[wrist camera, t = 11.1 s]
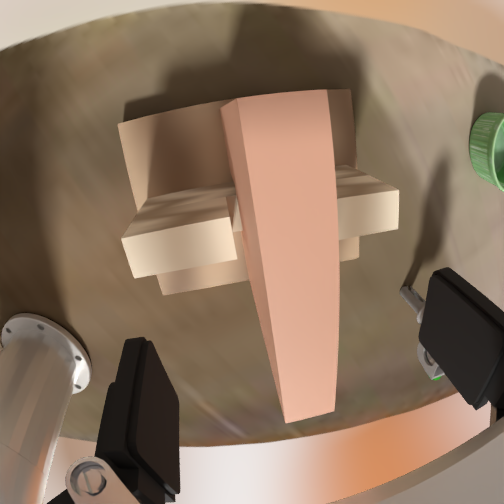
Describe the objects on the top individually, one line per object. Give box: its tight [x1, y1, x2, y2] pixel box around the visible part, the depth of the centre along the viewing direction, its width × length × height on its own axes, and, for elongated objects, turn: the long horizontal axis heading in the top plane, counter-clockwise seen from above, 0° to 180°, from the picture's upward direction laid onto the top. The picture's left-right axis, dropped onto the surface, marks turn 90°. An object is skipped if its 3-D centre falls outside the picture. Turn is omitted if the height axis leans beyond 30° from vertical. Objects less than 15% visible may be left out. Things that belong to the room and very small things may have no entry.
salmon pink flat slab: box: [220, 89, 339, 423], centre depth 17 cm, size 14×2×15 cm, turn 8°
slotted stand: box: [118, 89, 399, 295], centre depth 21 cm, size 18×15×10 cm
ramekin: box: [469, 112, 504, 192], centre depth 24 cm, size 9×9×4 cm
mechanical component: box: [400, 286, 445, 380], centre depth 28 cm, size 3×10×10 cm, turn 5°
